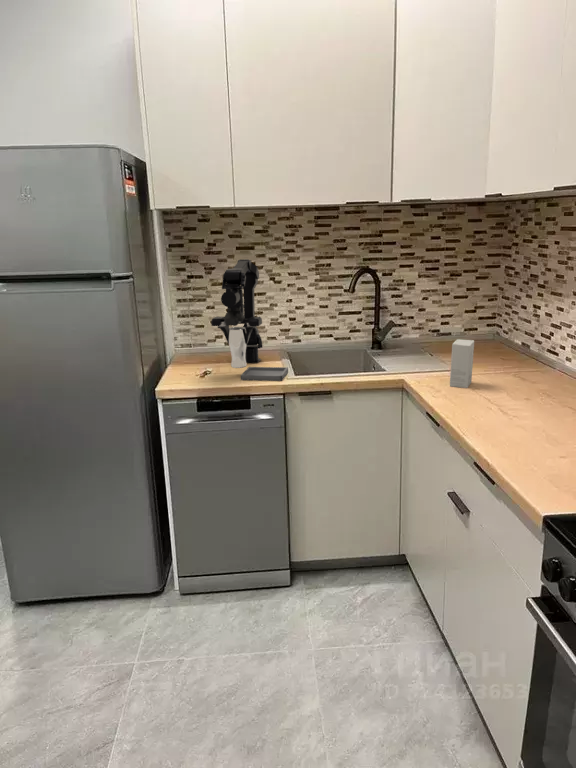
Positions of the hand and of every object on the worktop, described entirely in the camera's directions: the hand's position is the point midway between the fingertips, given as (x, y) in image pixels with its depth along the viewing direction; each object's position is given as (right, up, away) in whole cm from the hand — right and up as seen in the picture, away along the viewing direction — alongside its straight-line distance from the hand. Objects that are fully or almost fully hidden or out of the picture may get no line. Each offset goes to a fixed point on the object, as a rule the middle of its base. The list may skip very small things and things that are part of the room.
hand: (237, 343), depth 227 cm
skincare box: (+81, -16, -18) cm, 84 cm away
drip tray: (+10, -13, +2) cm, 16 cm away
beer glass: (0, -9, +3) cm, 9 cm away
